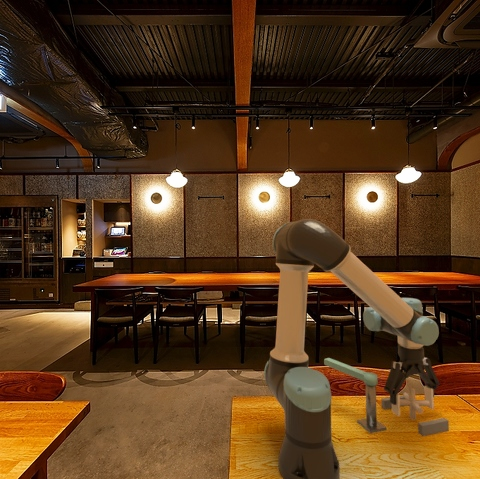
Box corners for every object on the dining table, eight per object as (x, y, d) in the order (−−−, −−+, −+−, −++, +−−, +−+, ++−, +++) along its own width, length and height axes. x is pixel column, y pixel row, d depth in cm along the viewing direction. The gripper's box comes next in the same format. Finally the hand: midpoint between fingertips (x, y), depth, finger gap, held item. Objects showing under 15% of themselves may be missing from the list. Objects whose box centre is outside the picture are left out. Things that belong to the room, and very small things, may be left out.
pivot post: (370, 433, 90) (369, 388, 91) (357, 422, 96) (356, 380, 96) (386, 430, 92) (385, 386, 92) (373, 419, 98) (372, 378, 98)
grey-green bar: (380, 383, 94) (379, 375, 94) (372, 386, 92) (372, 378, 92) (330, 363, 111) (330, 356, 111) (322, 365, 109) (322, 358, 109)
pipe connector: (421, 410, 102) (420, 381, 103) (437, 427, 93) (436, 395, 93) (390, 409, 103) (390, 380, 104) (403, 426, 94) (402, 394, 94)
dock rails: (422, 436, 89) (422, 425, 89) (381, 407, 105) (381, 398, 105) (448, 430, 91) (448, 420, 91) (404, 403, 108) (404, 394, 108)
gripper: (387, 353, 92) (390, 423, 91) (450, 345, 99) (453, 410, 98) (371, 345, 99) (373, 410, 98) (430, 338, 106) (432, 399, 105)
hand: (413, 410), depth 98 cm, fingers open, 13 cm apart
